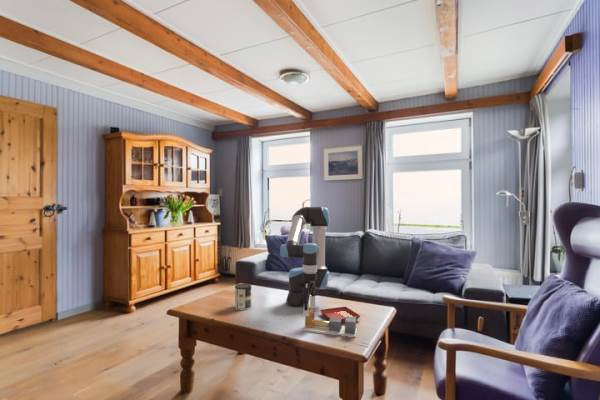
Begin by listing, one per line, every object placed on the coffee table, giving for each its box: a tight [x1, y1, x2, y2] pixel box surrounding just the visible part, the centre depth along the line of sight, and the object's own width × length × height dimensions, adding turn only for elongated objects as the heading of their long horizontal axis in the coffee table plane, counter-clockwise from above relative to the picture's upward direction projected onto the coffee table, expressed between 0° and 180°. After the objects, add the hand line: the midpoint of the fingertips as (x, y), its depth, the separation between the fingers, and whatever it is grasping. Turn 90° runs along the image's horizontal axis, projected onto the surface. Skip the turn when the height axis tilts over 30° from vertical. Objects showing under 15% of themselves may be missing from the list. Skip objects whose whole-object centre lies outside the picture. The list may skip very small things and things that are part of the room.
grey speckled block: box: [328, 317, 343, 332], centre depth 165 cm, size 6×6×5 cm
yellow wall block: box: [304, 308, 329, 328], centre depth 167 cm, size 18×4×8 cm, turn 74°
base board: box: [302, 325, 358, 338], centre depth 166 cm, size 10×28×1 cm, turn 74°
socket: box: [344, 316, 357, 334], centre depth 163 cm, size 7×5×6 cm
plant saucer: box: [319, 306, 361, 323], centre depth 184 cm, size 18×18×3 cm
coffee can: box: [234, 283, 252, 311], centre depth 201 cm, size 10×10×14 cm
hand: (309, 312), depth 168 cm, fingers open, 13 cm apart
